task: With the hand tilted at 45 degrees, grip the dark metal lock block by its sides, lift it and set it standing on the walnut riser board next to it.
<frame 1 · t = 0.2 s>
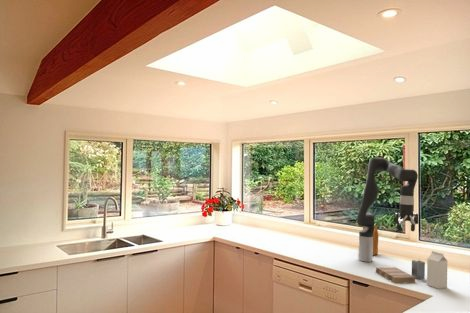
hand: (405, 231, 207), 29 cm above the worktop, tool pointing down, fingers open, 8 cm apart
milk carton: (436, 286, 199), on the worktop
walnut riser: (394, 277, 214), on the worktop
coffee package: (368, 253, 272), on the worktop
lock block: (418, 277, 214), on the worktop
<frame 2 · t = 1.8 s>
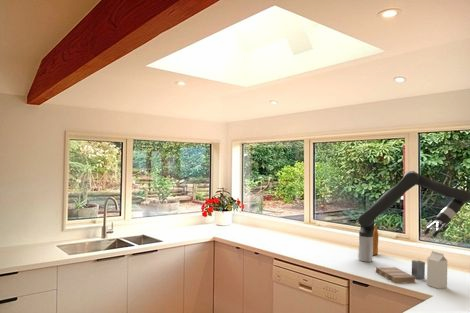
hand: (428, 234, 221), 25 cm above the worktop, tool tilted 45°, fingers open, 8 cm apart
nothing on the worktop moved.
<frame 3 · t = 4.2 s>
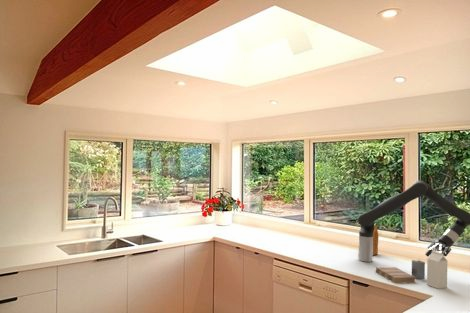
hand: (431, 257, 216), 12 cm above the worktop, tool tilted 45°, fingers open, 8 cm apart
nothing on the worktop moved.
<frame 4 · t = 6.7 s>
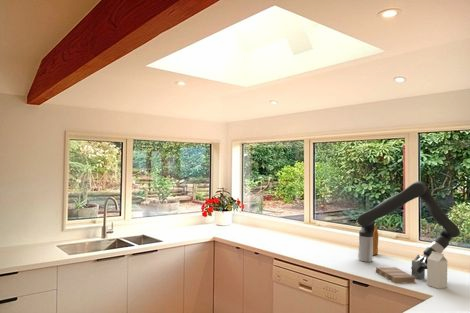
hand: (415, 270, 214), 4 cm above the worktop, tool tilted 45°, fingers closed on lock block, 5 cm apart
lock block: (418, 277, 214), on the worktop, touching gripper
everything else where it was.
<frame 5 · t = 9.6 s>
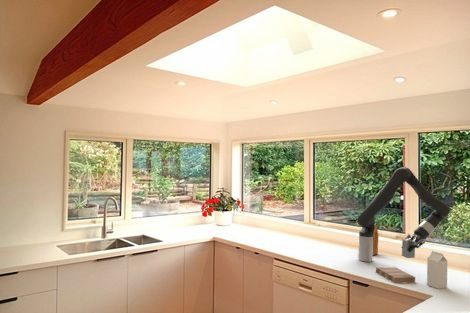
hand: (405, 249, 215), 17 cm above the worktop, tool tilted 45°, fingers closed on lock block, 5 cm apart
lock block: (408, 256, 215), point 12 cm above the worktop, touching gripper
everything else where it was.
when the fingers open (9 cm above the worktop, at t = 12.3 s): lock block drops 1 cm, resting on walnut riser.
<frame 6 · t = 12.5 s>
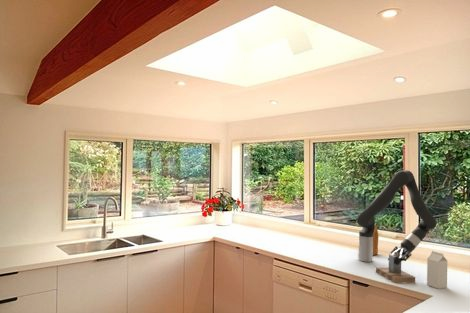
hand: (392, 262, 214), 9 cm above the worktop, tool tilted 45°, fingers open, 6 cm apart
lock block: (394, 271, 214), point 3 cm above the worktop, touching walnut riser
everything else where it was.
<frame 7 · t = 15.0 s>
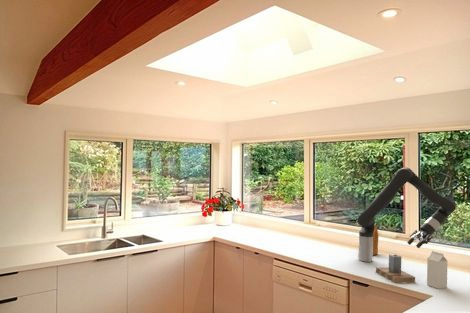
hand: (412, 245, 216), 19 cm above the worktop, tool tilted 45°, fingers open, 8 cm apart
nothing on the worktop moved.
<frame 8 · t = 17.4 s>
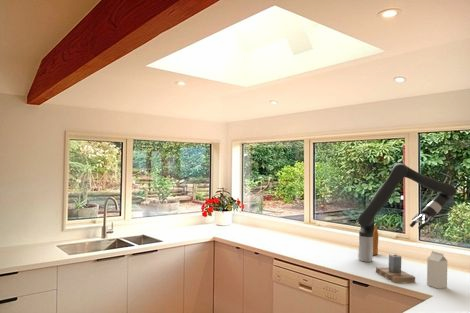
hand: (414, 227, 224), 29 cm above the worktop, tool tilted 45°, fingers open, 8 cm apart
nothing on the worktop moved.
at the end: lock block inside the target area on the walnut riser (0.1 cm from its centre), point 3.0 cm above the walnut riser's base; lock block tilted 0°; the gripper is holding nothing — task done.
